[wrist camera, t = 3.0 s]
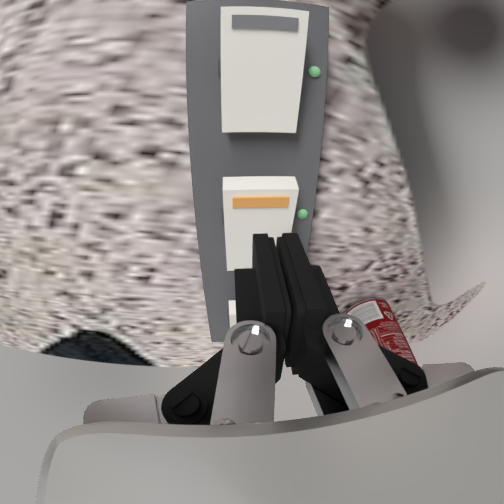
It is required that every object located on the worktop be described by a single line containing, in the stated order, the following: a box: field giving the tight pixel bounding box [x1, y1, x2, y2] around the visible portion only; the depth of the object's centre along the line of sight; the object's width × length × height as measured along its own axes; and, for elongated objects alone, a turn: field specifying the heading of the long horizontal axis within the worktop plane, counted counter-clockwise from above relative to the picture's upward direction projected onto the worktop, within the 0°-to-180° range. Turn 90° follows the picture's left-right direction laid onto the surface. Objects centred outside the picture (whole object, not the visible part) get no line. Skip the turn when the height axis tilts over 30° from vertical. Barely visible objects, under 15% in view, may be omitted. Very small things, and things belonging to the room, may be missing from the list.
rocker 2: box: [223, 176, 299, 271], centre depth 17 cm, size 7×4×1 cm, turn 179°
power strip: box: [186, 0, 329, 342], centre depth 18 cm, size 34×8×5 cm, turn 179°
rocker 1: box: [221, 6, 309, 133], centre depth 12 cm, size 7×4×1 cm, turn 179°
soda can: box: [344, 298, 418, 365], centre depth 28 cm, size 7×7×12 cm
